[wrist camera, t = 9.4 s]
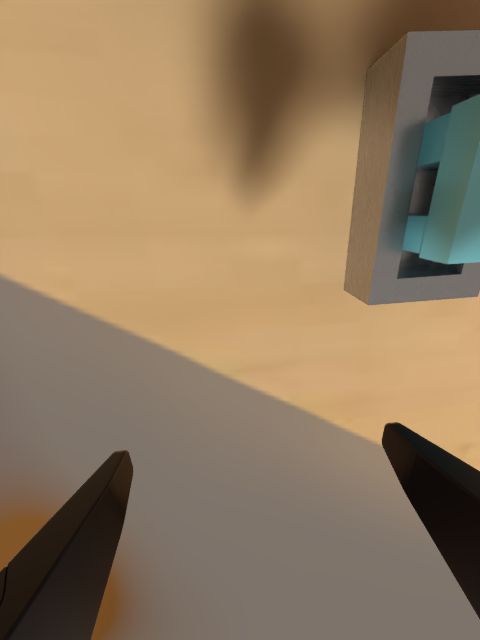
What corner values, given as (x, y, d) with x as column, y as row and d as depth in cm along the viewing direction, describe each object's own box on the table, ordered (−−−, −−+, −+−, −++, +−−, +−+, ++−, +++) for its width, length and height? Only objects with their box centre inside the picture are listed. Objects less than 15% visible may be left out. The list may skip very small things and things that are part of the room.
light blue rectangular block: (424, 246, 18) (503, 260, 13) (383, 249, 18) (447, 264, 13) (451, 126, 16) (563, 85, 11) (403, 127, 15) (493, 87, 10)
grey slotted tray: (367, 69, 15) (408, 31, 12) (489, 66, 15) (562, 28, 12) (343, 290, 20) (368, 305, 17) (436, 282, 20) (477, 296, 17)
